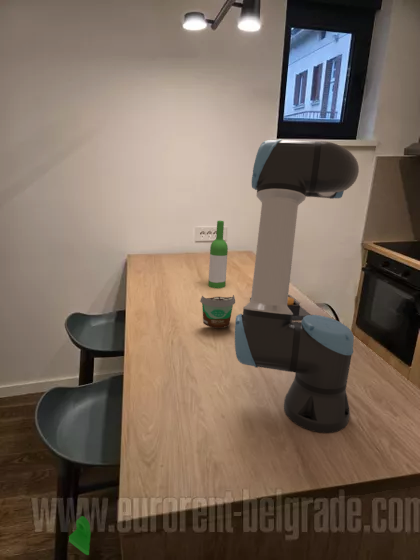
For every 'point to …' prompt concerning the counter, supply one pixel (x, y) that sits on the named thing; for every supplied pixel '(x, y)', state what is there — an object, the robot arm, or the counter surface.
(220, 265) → the wine bottle
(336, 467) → the counter surface
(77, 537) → the mechanical part
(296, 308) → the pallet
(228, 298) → the food container
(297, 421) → the robot arm
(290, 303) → the button
